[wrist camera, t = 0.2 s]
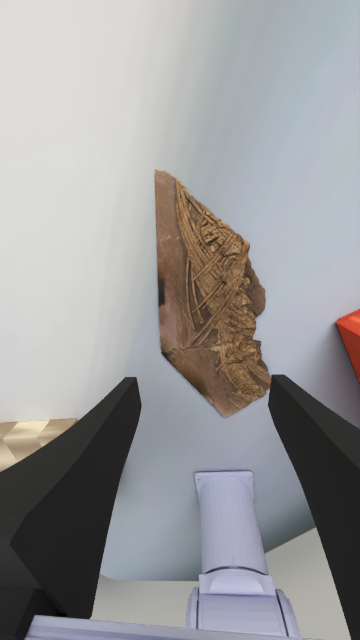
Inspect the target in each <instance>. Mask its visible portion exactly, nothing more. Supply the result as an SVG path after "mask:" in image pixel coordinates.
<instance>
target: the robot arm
mask: <svg viewBox="0 0 360 640" xmlns="http://www.w3.org/2000/svg"><path fill="white" fill-rule="evenodd" d="M141 406H142V405H141V400H140V394H139V389H138V383H137V378H136V377H125V378H124V379H123V380H122V381H121V382H120V383H119V384H118V385H117V386H116V387H115V388H114V389H113V390H112V391H111V392H110V393H109V394H108V395H107V396H106V397H105V398H104V399H103V400H102V401H101V402H100V403H98V404H97V405H96V406H95V407H94V408H93V409H92V410H90V411H89V412H88V413H87V414H86V415H85V416H84V417H82V418H81V419H80V420H79V421H78V422H76V423H75V424H74V425H73V426H71V427H70V428H69V429H67V430H66V431H65V432H63V433H62V434H60V435H59V436H58V437H56V438H55V439H53V440H52V441H50V442H49V443H47V444H46V445H44V446H43V447H41V448H40V449H38V450H37V451H35V452H34V453H32V454H30V455H29V456H27V457H25V458H24V459H22V460H21V461H19V462H17V463H15V464H14V465H12V466H10V467H8V468H7V469H5V470H3V471H1V472H0V640H319V639H307V638H301V635H300V631H299V627H298V624H297V621H296V617H295V614H294V611H293V608H292V605H291V603H290V601H289V599H288V598H287V597H286V596H285V595H284V593H283V591H282V590H281V589H275V587H274V582H273V578H272V576H270V575H269V572H268V568H267V563H266V559H265V554H264V550H263V545H262V541H261V536H260V532H259V527H258V523H257V518H256V514H255V509H254V494H253V473H252V472H250V471H236V472H198V473H195V475H194V478H195V483H196V489H197V494H198V499H199V505H200V517H201V558H202V574H200V575H199V587H194V588H193V591H192V593H191V595H190V596H189V599H188V605H187V617H186V628H181V627H169V626H158V625H146V624H135V623H123V622H111V621H100V620H89V619H90V617H91V616H92V611H93V605H94V600H95V594H96V589H97V584H98V578H99V573H100V568H101V563H102V558H103V553H104V548H105V543H106V538H107V534H108V529H109V524H110V520H111V515H112V511H113V506H114V502H115V498H116V494H117V490H118V485H119V481H120V477H121V474H122V471H123V467H124V464H125V461H126V458H127V455H128V453H129V450H130V447H131V444H132V441H133V438H134V435H135V432H136V428H137V425H138V421H139V417H140V412H141ZM268 407H269V410H270V413H271V416H272V419H273V422H274V425H275V427H276V430H277V432H278V434H279V436H280V438H281V441H282V443H283V445H284V447H285V449H286V451H287V454H288V456H289V458H290V460H291V462H292V464H293V467H294V469H295V471H296V473H297V476H298V478H299V480H300V483H301V485H302V488H303V491H304V494H305V496H306V499H307V502H308V505H309V507H310V510H311V513H312V516H313V519H314V522H315V525H316V528H317V531H318V533H319V536H320V539H321V542H322V545H323V549H324V552H325V554H326V558H327V561H328V564H329V567H330V570H331V573H332V576H333V579H334V583H335V586H336V590H337V593H338V596H339V599H340V602H341V606H342V609H343V612H344V616H345V619H346V623H347V626H348V629H349V633H350V636H351V640H360V429H359V428H357V427H355V426H354V425H352V424H351V423H349V422H347V421H346V420H344V419H343V418H342V417H340V416H339V415H337V414H336V413H334V412H333V411H331V410H330V409H329V408H327V407H326V406H324V405H323V404H322V403H320V402H319V401H318V400H316V399H315V398H314V397H312V396H311V395H310V394H308V393H307V392H306V391H305V390H303V389H302V388H301V387H299V386H298V385H297V384H296V383H294V382H293V381H292V380H291V379H289V378H288V377H287V376H285V375H272V377H271V385H270V393H269V402H268Z"/></svg>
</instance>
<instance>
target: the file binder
mask: <svg viewBox="0 0 360 640" xmlns="http://www.w3.org/2000/svg"><path fill="white" fill-rule="evenodd" d="M336 324H337V327H338V329H339V332H340V334H341V337H342V340H343V342H344V345H345V347H346V350H347V352H348V355H349V358H350V360H351V363H352V365H353V368H354V371H355V373H356V376H357V378H358V381H359V383H360V309H359V310H357V311H355V312H353V313H351V314H349V315H346V316H344V317H342V318H340V320H339V321H337V322H336Z"/></svg>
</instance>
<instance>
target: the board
mask: <svg viewBox="0 0 360 640" xmlns="http://www.w3.org/2000/svg"><path fill="white" fill-rule="evenodd" d="M76 422H78V421H77V419H60V420H43V421H26V422H9V423H0V472H1V471H3V470H5V469H7V468H8V467H10V466H12V465H14V464H15V463H17V462H19V461H21V460H22V459H24V458H25V457H27V456H29V455H30V454H32V453H34V452H35V451H37V450H38V449H40V448H41V447H43V446H44V445H46V444H47V443H49V442H50V441H52V440H53V439H55V438H56V437H58V436H59V435H60V434H62V433H63V432H65V431H66V430H67V429H69V428H70V427H71V426H73V425H74V424H75V423H76Z"/></svg>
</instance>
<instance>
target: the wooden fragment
mask: <svg viewBox="0 0 360 640" xmlns="http://www.w3.org/2000/svg"><path fill="white" fill-rule="evenodd" d="M155 193H156V226H157V255H158V288H159V298H158V300H159V319H160V329H161V330H160V331H161V333H160V334H161V336H160V342H161V350H166V351H161V353H162V354H163V356H164V357H165V358H166V359H167V360H168V361H169V362H170V363H171V364H172V365H173V366H174V367H175V368H176V369H177V370H178V371H179V372H180V373H181V374H182V375H183V376H184V377H185V378H186V379H187V380H188V381H189V382H190V383H191V384H192V385H193V386H194V387H195V388H196V389H197V390H198V391H199V392H200V394H202V395H203V396H204V397H205V398H206V399H207V400H208V402H210V403H211V404H212V405H213V406H214V407H215V409H216V410H217V411H218V412H219V413H220V414H221V415H222V416H223V417H224V418H225V417H228V416H230V415H231V414H233V413H235V412H237V411H239V410H241V409H242V408H244V407H246V406H247V405H249V404H250V403H251V402H252V401H253V400H257V399H259V398H260V397H263V396H264V395H266V390H267V389H269V388H270V385H271V376H270V375H269V374H268V369H267V366H266V365H265V363H264V362H263V361H262V360H261V358H262V357H261V355H262V354H261V350H260V346H261V341H256V340H253V334H254V332H255V330H256V321H255V318H256V317H257V316H258V315H260V314H261V313H262V312H263V311H264V309H265V289H264V288H263V287H262V286H261V285H260V284H259V280H258V278H257V276H256V275H255V272H254V270H253V269H252V268H251V262H250V260H249V258H248V254H247V253H248V251H249V248H250V244H249V243H248V242H247V241H245V240H244V239H243V238H242V237H241V236H240V235H239V234H237V233H235V232H234V231H233V230H232V229H231V228H230V227H229V226H228V224H226V223H225V222H223V221H222V220H221V219H220V220H218V219H216V218H215V216H214V215H213V214H212V213H211V212H210V210H209V209H208V208H206V207H205V206H203V205H202V204H201V203H200V202H198V201H197V200H196V199H195V198H194V197H192V196H190V195H189V194H188V191H187V189H186V187H185V186H184V185H183V184H182V183H181V181H180V180H179V179H177V178H175V177H173V176H172V175H170V174H169V173H167V172H165V171H159V170H156V169H155ZM167 350H168V351H167Z"/></svg>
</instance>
